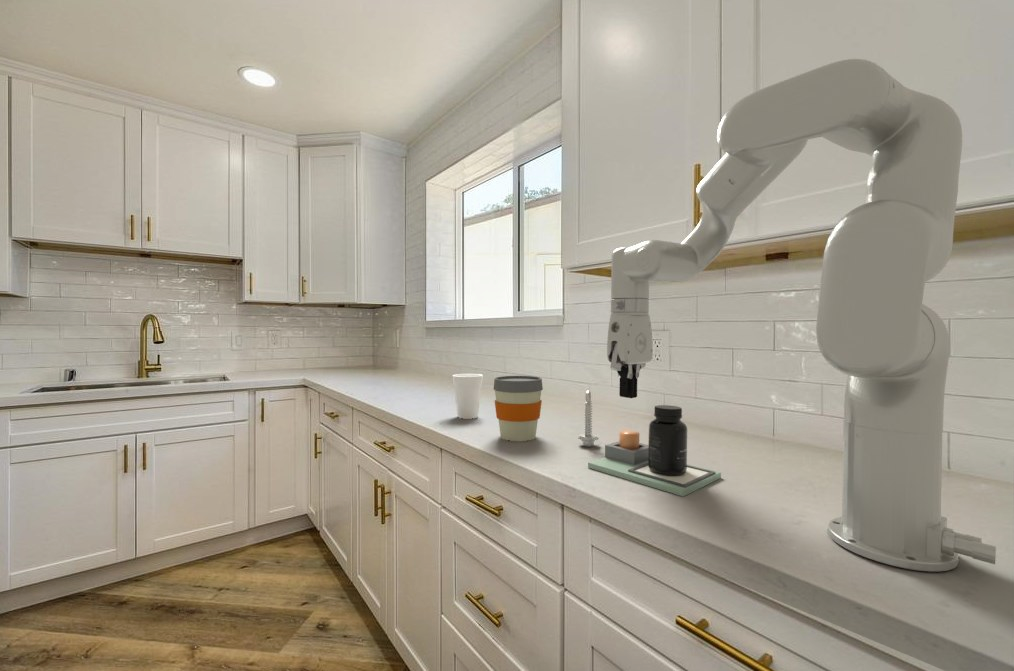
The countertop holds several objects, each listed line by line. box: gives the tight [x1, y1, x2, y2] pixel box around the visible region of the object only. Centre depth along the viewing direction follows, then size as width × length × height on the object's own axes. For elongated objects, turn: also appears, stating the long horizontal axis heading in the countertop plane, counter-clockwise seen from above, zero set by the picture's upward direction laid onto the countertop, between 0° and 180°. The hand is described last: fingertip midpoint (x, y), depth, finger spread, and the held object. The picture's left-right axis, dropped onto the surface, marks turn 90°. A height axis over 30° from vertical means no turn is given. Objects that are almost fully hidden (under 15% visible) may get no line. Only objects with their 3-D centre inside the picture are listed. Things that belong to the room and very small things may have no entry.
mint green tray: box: [587, 440, 722, 497], centre depth 86 cm, size 20×14×4 cm
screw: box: [577, 390, 599, 448], centre depth 105 cm, size 13×5×5 cm
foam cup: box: [452, 373, 484, 420], centre depth 139 cm, size 10×9×13 cm
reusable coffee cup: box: [493, 375, 544, 442], centre depth 114 cm, size 12×13×15 cm
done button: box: [618, 429, 640, 450], centre depth 92 cm, size 4×4×4 cm
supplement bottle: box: [648, 404, 688, 476], centre depth 83 cm, size 7×7×12 cm
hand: (628, 396), depth 92 cm, fingers closed
